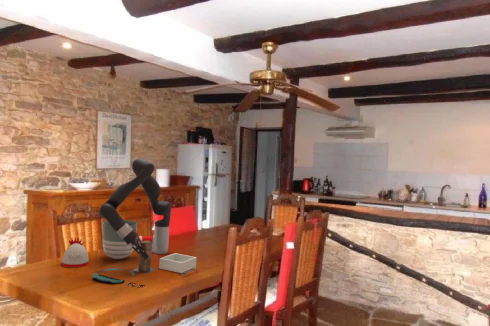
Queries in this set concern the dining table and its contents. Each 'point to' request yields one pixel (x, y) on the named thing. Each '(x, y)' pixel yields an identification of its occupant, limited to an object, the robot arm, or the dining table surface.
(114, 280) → the cutlery set
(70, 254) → the kitchen timer
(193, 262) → the bin
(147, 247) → the strut
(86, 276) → the dining table surface
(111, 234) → the planter
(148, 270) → the stud plate
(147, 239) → the toy hammer
